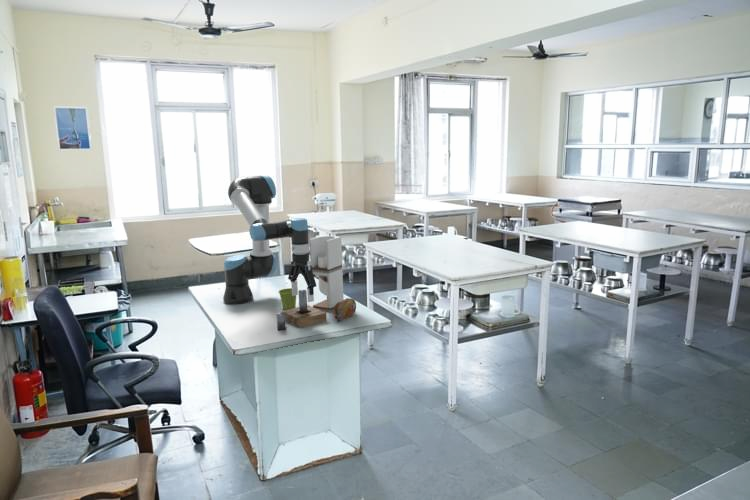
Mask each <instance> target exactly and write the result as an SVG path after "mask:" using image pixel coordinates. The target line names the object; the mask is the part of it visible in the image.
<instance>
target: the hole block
mask: <svg viewBox="0 0 750 500" xmlns="http://www.w3.org/2000/svg"><path fill="white" fill-rule="evenodd" d="M307 311H308V313H306V314H300V310H299V306H297V307H295V308H291V309H284V310H282V311H281V313H285V323H288V324H291V325H293V326H295V327H298V328H299V329H301V328H305V327H309V326H313V325H316V324H320V323H324V322H327V312H325V311H321V310H319V309H316V308H314V307H313V306H311V305H308V304H307Z"/></svg>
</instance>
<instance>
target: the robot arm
mask: <svg viewBox="0 0 750 500" xmlns="http://www.w3.org/2000/svg"><path fill="white" fill-rule="evenodd" d="M227 191H228V192H227V194H228V197H229V200H230V202H231V203H232V204H233V205H235V206H236V207H237V208H238V210H239V212H240V213H241V214H242V216H243V217H244V219H245V221H246V222H247V224H248V225H249V236H250V238H251V240H252V250H251V251H250V252H249V256H247V255H246V254H236V255H233V256H229V257H227V258H226V259H225V260H224V262H223V270H224V282H225V290H224V294H223V298H222V299H223V303H224V304H227V305H240V304H246V303H250V302H252V301H253V300H254V295H253V294H254V293H253V292H252V290H251V287H250V285H249V283H250V282H249V280H251V279H258V278H267V277H269V276H272V275H274V274H275V272H276V270H277V257H276V255H275V254H273V251H272V250H271V249H270V240H274V239H276V240H277V239H285V238H291V252H292V255H291V256H292V257H291V259H292V260H291V261H290V269H289V273H288V277H287V279H288V280H290V283H291V284H290V285H291V288H292V296H295V295H296V296H299V292H298V291H299V289H298V288H299V286H298V277H299V275H301V276H303V278H304V281H305V283H306V286H307V287H306V292H307V303H311V302H314V300H315V296H314V294H315V293H314V288H315V287H317V282H316V280H315V276H314V275H313V272H312V266H311V264H309V265H308V262H309V261H310V243H309V225H308V219H307V218H304V217H295V218H291V219H283V220H281V221H275V222H274V221H273V222H270V205H271V204H272V202H273V200H272V199H274V198H276V195H277V189H276V184H275V182H274V180H273V178H272V177H270V176H269V175H251V176H250V175H249V176H240V177H237V178H235V179H234V180H233V181H232V182H231V183H230V185H229V186H228V189H227Z"/></svg>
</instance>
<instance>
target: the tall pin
mask: <svg viewBox="0 0 750 500" xmlns="http://www.w3.org/2000/svg"><path fill="white" fill-rule="evenodd" d="M298 305H299V306H298V307H299V310H300V314H306V313H308V311H307V305H308V295H307V289H298Z"/></svg>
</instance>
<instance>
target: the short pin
mask: <svg viewBox="0 0 750 500" xmlns="http://www.w3.org/2000/svg"><path fill="white" fill-rule="evenodd" d="M276 329H277V331H278V332H282V331H283V332H284V331H286V329H287V327H286V321H285V313H282V312H279V313H276Z"/></svg>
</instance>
